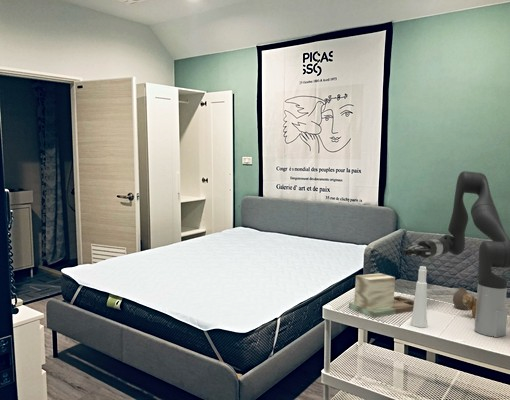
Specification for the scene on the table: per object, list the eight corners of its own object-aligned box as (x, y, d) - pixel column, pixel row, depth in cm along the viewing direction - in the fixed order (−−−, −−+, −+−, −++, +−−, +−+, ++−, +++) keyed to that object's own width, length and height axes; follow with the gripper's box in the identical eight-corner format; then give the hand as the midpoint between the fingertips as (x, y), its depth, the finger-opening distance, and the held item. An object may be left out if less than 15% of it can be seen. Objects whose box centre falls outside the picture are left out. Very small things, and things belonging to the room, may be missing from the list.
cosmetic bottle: (409, 321, 168) (413, 264, 167) (426, 323, 167) (430, 266, 166) (410, 326, 162) (415, 267, 161) (428, 328, 161) (432, 269, 160)
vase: (454, 309, 188) (455, 289, 187) (450, 305, 194) (452, 285, 194) (471, 311, 186) (473, 290, 186) (467, 306, 193) (469, 287, 192)
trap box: (425, 309, 186) (425, 304, 186) (373, 317, 171) (374, 312, 171) (399, 300, 198) (399, 295, 198) (348, 307, 183) (349, 302, 183)
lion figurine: (459, 316, 178) (461, 294, 178) (463, 313, 182) (465, 292, 182) (500, 325, 169) (501, 302, 168) (503, 322, 173) (505, 300, 172)
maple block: (393, 306, 180) (395, 277, 180) (368, 310, 173) (370, 280, 173) (378, 301, 187) (380, 273, 187) (354, 304, 180) (356, 275, 180)
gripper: (417, 237, 200) (392, 241, 190) (444, 242, 189) (418, 246, 179) (416, 253, 201) (391, 258, 191) (442, 259, 190) (417, 264, 180)
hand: (404, 252), depth 185 cm, fingers closed
